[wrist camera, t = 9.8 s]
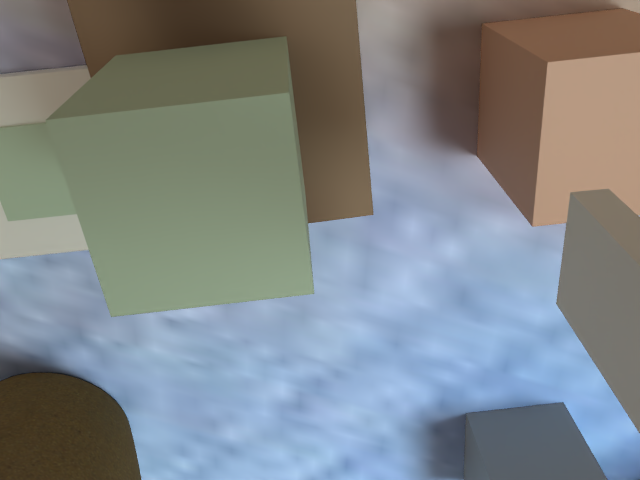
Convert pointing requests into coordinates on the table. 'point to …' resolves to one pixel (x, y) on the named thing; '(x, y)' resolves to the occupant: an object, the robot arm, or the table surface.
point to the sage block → (189, 176)
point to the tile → (35, 165)
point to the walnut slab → (305, 64)
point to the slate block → (527, 445)
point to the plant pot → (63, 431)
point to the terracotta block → (561, 109)
